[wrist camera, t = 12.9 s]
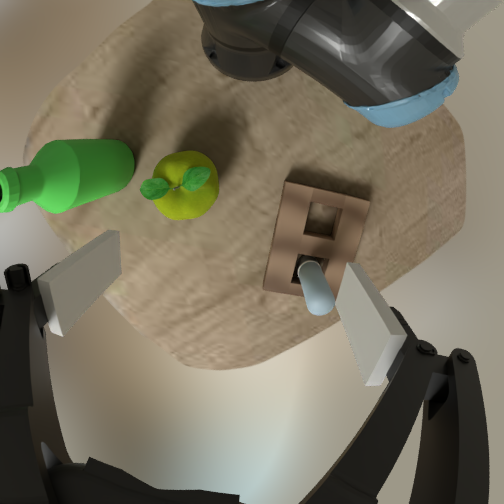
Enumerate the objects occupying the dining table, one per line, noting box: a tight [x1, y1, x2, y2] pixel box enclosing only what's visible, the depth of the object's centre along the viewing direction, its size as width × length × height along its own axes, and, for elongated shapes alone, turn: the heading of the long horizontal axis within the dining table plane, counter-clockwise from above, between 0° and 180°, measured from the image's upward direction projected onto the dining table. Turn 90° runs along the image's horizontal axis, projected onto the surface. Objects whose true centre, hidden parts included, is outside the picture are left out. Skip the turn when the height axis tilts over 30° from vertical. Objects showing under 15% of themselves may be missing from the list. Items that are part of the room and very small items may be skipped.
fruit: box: [140, 150, 219, 220], centre depth 36 cm, size 9×9×10 cm
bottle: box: [0, 139, 134, 214], centre depth 28 cm, size 9×9×25 cm
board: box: [263, 180, 370, 301], centre depth 42 cm, size 17×13×2 cm
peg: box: [296, 255, 335, 315], centre depth 39 cm, size 4×4×12 cm
